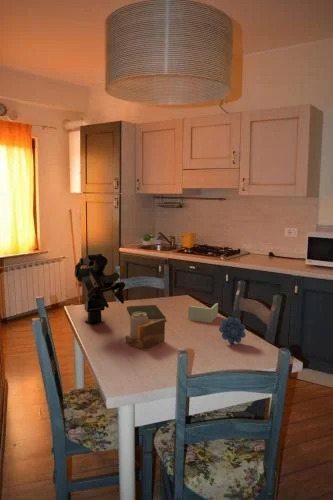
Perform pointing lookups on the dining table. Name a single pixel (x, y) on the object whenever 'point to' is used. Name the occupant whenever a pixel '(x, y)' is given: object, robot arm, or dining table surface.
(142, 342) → the brown wooden crate
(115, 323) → the dining table surface
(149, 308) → the hardcover book
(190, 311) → the right angle wall
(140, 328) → the pusher
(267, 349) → the dining table surface
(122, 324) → the dining table surface
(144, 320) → the can
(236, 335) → the grapes
